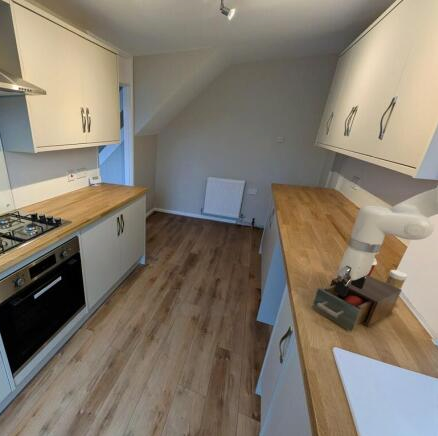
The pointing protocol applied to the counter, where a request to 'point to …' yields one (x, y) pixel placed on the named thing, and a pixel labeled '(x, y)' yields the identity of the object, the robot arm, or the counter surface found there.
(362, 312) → the drawer
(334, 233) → the counter surface
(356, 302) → the onion
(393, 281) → the sprinkles bottle
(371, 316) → the cabinet
